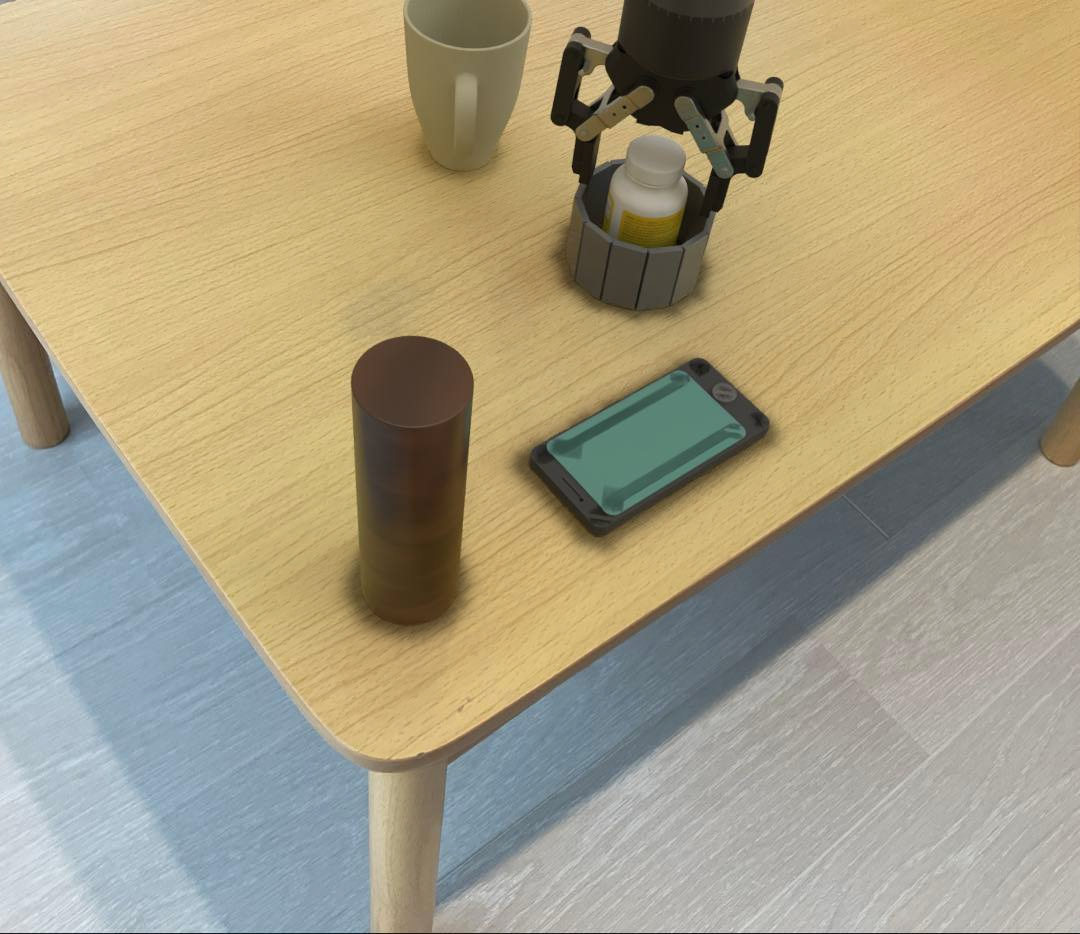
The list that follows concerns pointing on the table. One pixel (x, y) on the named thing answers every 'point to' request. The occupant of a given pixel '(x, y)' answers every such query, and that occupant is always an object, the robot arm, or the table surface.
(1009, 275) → the table surface
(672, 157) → the supplement bottle
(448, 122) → the mug
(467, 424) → the brown metal stand
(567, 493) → the smartphone
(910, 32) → the table surface
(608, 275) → the grey ring
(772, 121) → the robot arm
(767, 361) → the table surface
